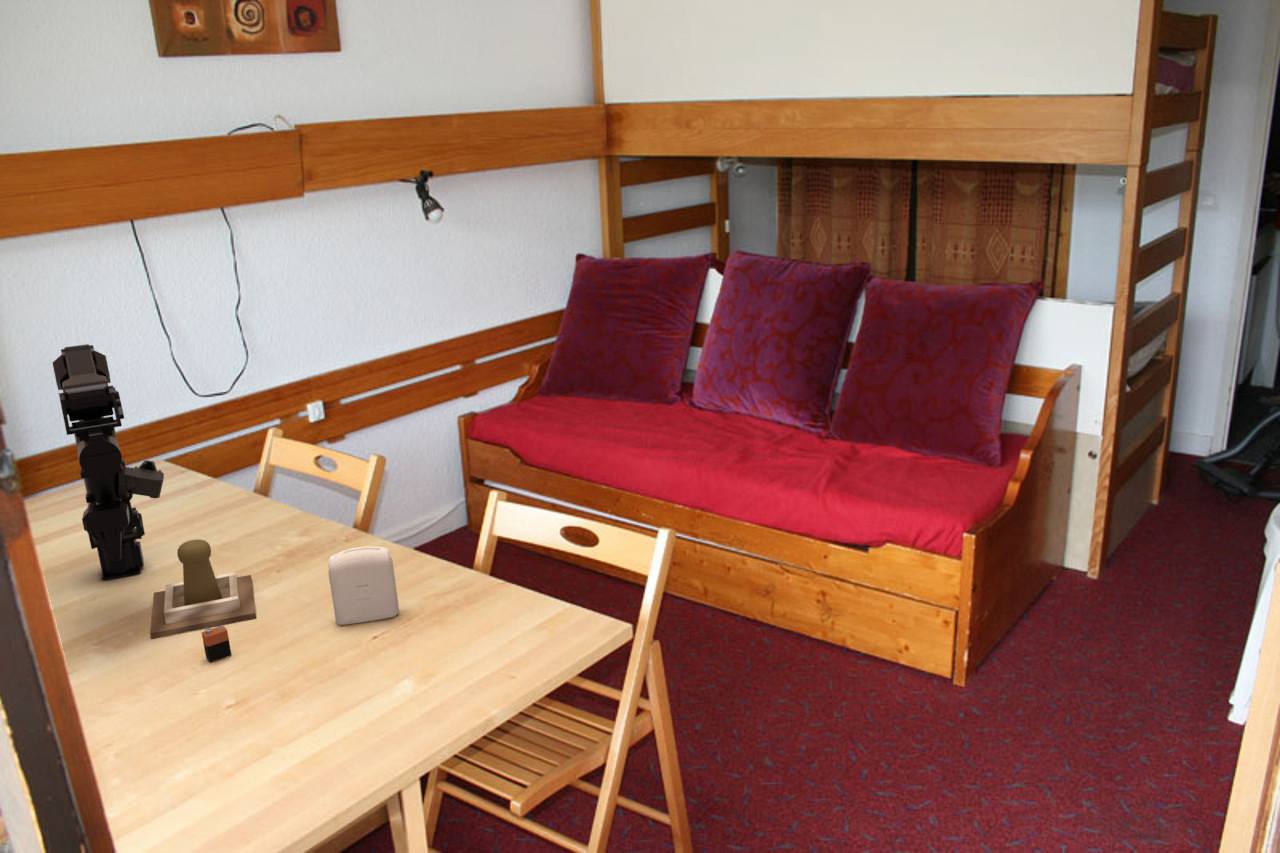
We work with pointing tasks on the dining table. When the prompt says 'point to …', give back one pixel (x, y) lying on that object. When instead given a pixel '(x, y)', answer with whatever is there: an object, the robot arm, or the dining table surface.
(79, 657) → the dining table surface
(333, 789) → the dining table surface
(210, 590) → the cork
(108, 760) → the dining table surface
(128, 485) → the robot arm
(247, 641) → the dining table surface
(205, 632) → the battery
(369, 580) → the photo printer
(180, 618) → the socket board
